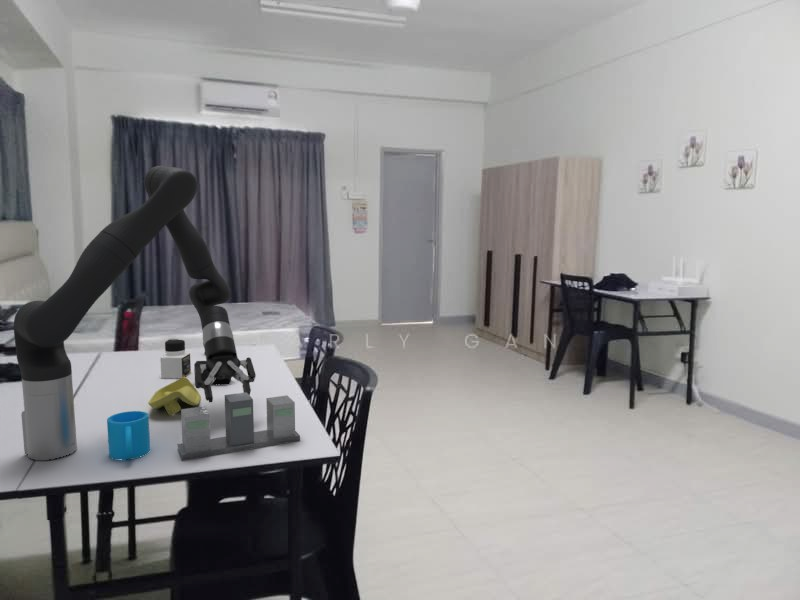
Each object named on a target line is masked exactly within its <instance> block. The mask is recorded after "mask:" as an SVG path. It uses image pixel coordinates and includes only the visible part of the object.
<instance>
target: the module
mask: <svg viewBox="0 0 800 600" xmlns="http://www.w3.org/2000/svg"><path fill="white" fill-rule="evenodd" d="M224 414H225V416H224V417H225V418H224V419H225V420H224V421H225V437H226V438H227V440H228V441H229V443H230V444H231V446H235V445H241V444H247V443H253V442H254V432H255V429H254V428H255V423H254V398H252V396H251V394H250V395H249V394H248V393H247V392H244V391H243V392H238V393H237V392H236V393H231V394H224Z"/></svg>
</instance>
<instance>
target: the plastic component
mask: <svg viewBox="0 0 800 600" xmlns="http://www.w3.org/2000/svg"><path fill="white" fill-rule="evenodd" d="M201 398H202V396H201V394H200V393H199V391H198V390H197V388H196V386H194V385H193V383H192V382H191V380H189V378H187V377H183V378H181V379H177V380H175V381H172V382H171V383H170V384H167V385H165V386H163V387H161V388H160V389H158V390H156V391H155V392H154V394H153V395H152V396H151V397H150V399H149V401H147V404H148V405H149V406H150V407H151V408H153V409H156V410H158V409H161V408H162V407H164V408H165V410H166V412H167V414H168V415H169V416H173V415H174V414H176V413H178V412H179V411H180V412H181V409H182V406H180V403H179V402H178V399H180V400H181V401H182V402H183V403H186V404H188V405H190V406H194V407H195V406H197V405H199V404H200V403H201V402H200V401H201Z"/></svg>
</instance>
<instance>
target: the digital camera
mask: <svg viewBox="0 0 800 600" xmlns="http://www.w3.org/2000/svg"><path fill="white" fill-rule="evenodd" d="M197 362H198V363H200V364H206V363H207V361H206V360H196V361H195V363H197ZM195 363H194V364H193V365H194V368H195ZM209 374H210V373H209V372H208V371H207V370H206V369H204V370H203V373H201V381H206V379H207V378H208V376H209ZM231 382H232V377H231V378H230V379H226V378H224V379H221V380H219V379H217V378H216V379H215V380H214V382H213V383H212V384H211V386H222V385H221V384H229V385H230V384H231ZM216 384H217V385H216ZM218 384H220V385H218Z"/></svg>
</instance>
